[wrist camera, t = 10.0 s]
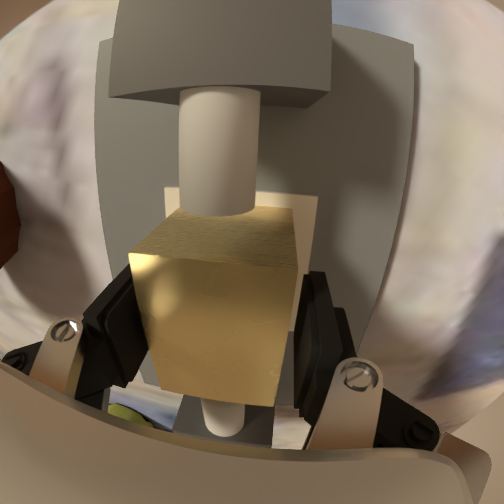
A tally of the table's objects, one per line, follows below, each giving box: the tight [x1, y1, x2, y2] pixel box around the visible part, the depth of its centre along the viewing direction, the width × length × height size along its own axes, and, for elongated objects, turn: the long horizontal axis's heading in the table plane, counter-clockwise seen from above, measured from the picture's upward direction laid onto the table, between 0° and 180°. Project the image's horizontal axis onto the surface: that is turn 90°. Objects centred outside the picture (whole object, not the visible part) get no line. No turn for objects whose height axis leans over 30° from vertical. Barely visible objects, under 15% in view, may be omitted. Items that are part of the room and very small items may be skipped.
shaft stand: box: [94, 0, 414, 448], centre depth 11 cm, size 14×22×6 cm, turn 177°
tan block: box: [128, 205, 298, 407], centre depth 10 cm, size 4×6×5 cm
